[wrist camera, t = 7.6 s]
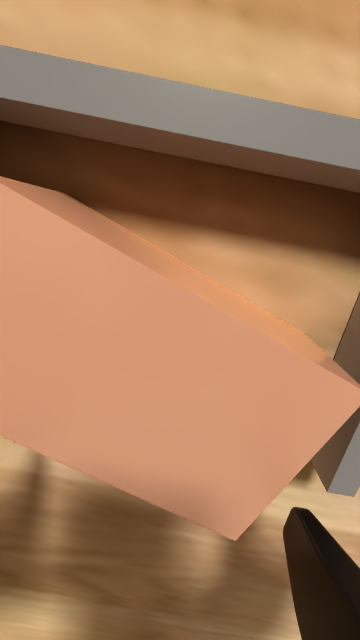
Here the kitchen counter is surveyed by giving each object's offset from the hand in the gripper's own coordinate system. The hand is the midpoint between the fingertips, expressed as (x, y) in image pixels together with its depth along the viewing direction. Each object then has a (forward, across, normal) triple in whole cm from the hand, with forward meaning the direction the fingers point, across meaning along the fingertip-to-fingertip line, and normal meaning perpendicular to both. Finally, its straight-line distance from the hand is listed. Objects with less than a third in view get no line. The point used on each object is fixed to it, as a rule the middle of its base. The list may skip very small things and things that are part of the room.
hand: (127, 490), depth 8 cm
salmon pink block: (+5, 0, -3) cm, 6 cm away
